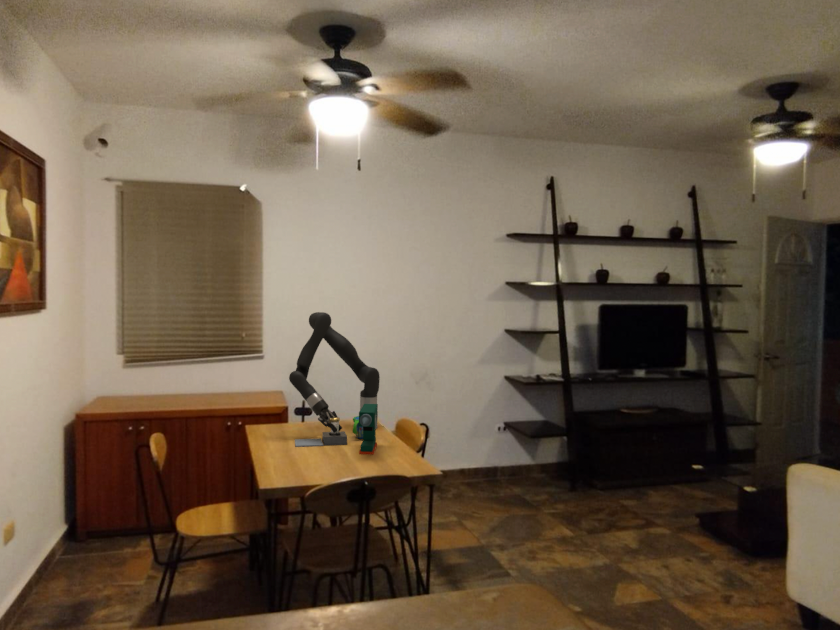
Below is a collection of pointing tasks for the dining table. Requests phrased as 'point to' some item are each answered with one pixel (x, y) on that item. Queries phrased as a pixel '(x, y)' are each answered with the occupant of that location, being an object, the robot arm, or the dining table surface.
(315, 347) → the robot arm
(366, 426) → the power tool
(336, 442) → the socket block
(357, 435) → the snack cup
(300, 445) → the mat
